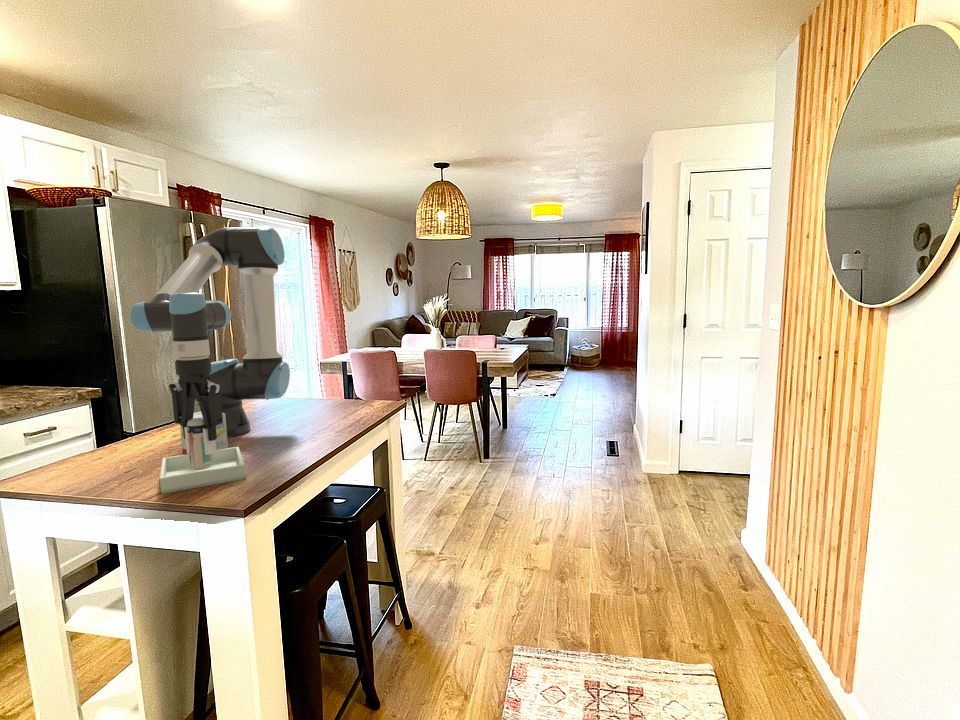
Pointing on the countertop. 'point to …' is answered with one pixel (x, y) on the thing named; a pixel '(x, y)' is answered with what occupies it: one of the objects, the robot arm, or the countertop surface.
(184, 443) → the ink box
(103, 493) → the countertop surface
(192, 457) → the beer can
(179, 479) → the bin
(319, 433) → the countertop surface
